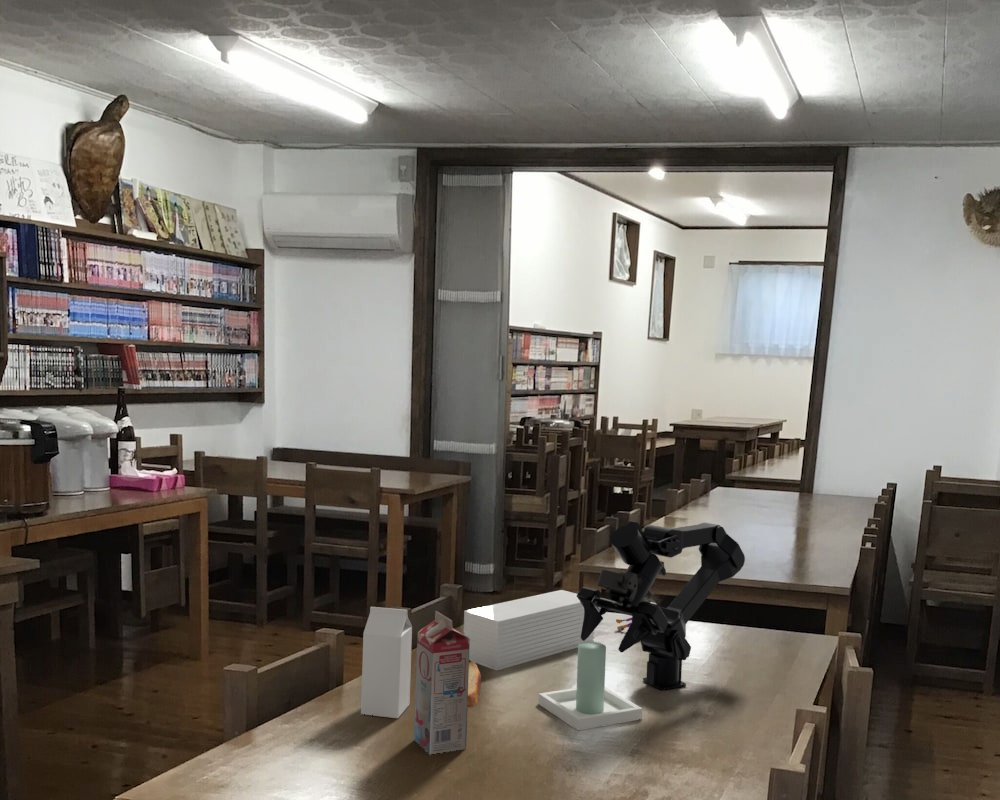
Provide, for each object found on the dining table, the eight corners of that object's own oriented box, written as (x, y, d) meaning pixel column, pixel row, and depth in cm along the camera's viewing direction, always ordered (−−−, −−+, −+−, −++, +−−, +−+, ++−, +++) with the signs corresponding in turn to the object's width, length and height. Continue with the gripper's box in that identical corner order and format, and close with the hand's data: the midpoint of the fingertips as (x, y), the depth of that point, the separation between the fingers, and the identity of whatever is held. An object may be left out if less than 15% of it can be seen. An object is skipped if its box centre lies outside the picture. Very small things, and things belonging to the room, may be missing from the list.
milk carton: (398, 719, 166) (401, 615, 165) (360, 715, 167) (363, 611, 167) (409, 705, 173) (413, 605, 172) (373, 701, 174) (376, 602, 174)
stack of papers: (560, 633, 225) (561, 589, 224) (593, 643, 217) (595, 598, 217) (462, 659, 202) (464, 610, 202) (496, 671, 195) (498, 621, 194)
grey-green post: (602, 704, 176) (604, 642, 175) (605, 714, 171) (607, 650, 170) (574, 703, 176) (577, 641, 175) (576, 713, 171) (579, 649, 170)
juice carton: (429, 755, 151) (434, 622, 150) (414, 740, 157) (418, 612, 156) (466, 748, 154) (470, 618, 153) (449, 734, 160) (453, 608, 159)
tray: (599, 694, 183) (600, 684, 183) (641, 719, 170) (642, 708, 170) (538, 703, 176) (538, 693, 176) (577, 730, 164) (578, 719, 164)
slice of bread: (463, 712, 171) (464, 692, 171) (393, 689, 182) (394, 670, 182) (520, 688, 186) (521, 670, 185) (452, 668, 197) (453, 650, 196)
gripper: (584, 546, 184) (545, 609, 177) (661, 562, 171) (622, 632, 164) (607, 579, 190) (570, 642, 183) (683, 598, 177) (647, 666, 170)
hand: (600, 645), depth 175 cm, fingers open, 9 cm apart
